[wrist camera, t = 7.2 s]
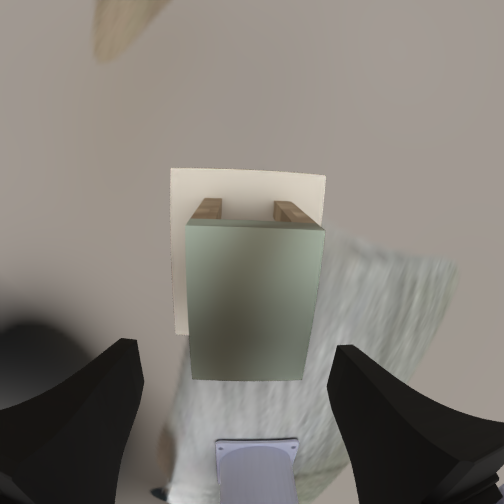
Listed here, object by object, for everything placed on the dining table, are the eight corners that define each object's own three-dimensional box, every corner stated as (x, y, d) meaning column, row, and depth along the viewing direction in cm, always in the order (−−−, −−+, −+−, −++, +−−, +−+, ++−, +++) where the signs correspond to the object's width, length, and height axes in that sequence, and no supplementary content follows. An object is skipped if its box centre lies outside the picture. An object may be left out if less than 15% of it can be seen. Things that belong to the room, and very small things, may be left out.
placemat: (304, 334, 21) (305, 337, 20) (176, 331, 20) (175, 334, 20) (323, 175, 17) (325, 175, 17) (172, 167, 17) (170, 168, 16)
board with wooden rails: (291, 201, 17) (325, 231, 11) (281, 308, 20) (301, 380, 13) (204, 197, 17) (185, 225, 10) (204, 306, 19) (192, 379, 13)
